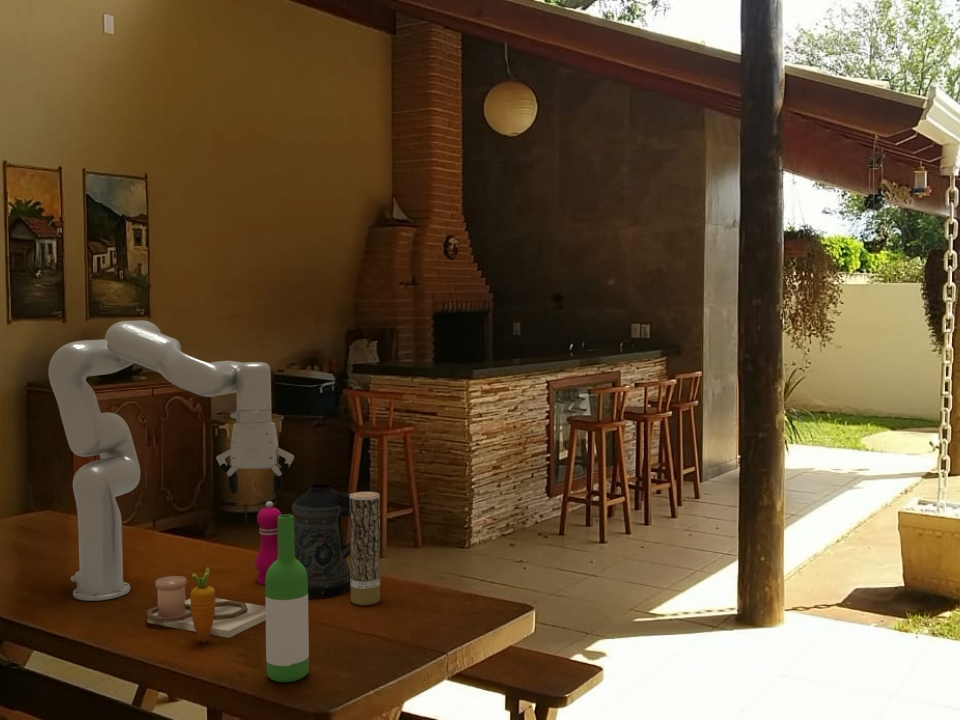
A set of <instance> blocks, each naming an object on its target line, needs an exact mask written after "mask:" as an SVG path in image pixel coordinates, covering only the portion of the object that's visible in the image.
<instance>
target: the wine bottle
mask: <svg viewBox="0 0 960 720" xmlns="http://www.w3.org/2000/svg"><path fill="white" fill-rule="evenodd" d="M294 519H295V516H294V514H291V513H287V514H286V513H285V514H281V515H279V516H278V558H277V560H276V561H275V562H274V563H273V564H272V565H271V566H270V567H269V569H268V571H267V574H266V579H265V585H264V586H265V606H266V620H265V651H266V652H265V653H266V654H265V657H266V658H265V660H266V666H265V667H266V675H267V677H268V678H269V679H270V680H272V681H274V682H277V683H291V682H296V681H299V680H301V679H303V678H304V677H306V676H307V674H308V673H309V668H310V663H309V661H310V651H309V650H310V644H309V642H310V641H309V637H310V636H309V630H310V629H309V598H308V577H307V572H306V569H305V567H304V566H303V565H302V563H301V562H299V561H298V560H297V559H296V558H295V551H294Z"/></svg>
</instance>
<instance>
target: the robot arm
mask: <svg viewBox="0 0 960 720" xmlns="http://www.w3.org/2000/svg"><path fill="white" fill-rule="evenodd" d="M134 364H136V365H139V366H142V367H143V368H147V369H149V370H151V371H154V372H156V373H159V374H161V376H162V377H164V379H165V380H167V381H168V382H169V383H171V384H172V385H174V386H176V387H178V388H180V389H183V390H186V391H188V392H190V393H193V394H196V395H197V396H201V397H209V398H212V397H218V396H223V395H227V394H228V395H229V394H233V393H236V411H231V412H230V418H231V419H235V420H236V423H233V425H232V426H233V427H232V431H231V441H230V449H228V450H226V451H224V452H222V453H221V454H218V455H217V456H216V461H217V463H218V465H219V467H220V469H222V471H223V472H224V473H225V474H226V475H227V477H228V489H229V490H231V491H230V493H231V495H234V494H236V493H237V492H238V491H239V479H238V473H237V471H238V470H239V469H240V470H244V469H245V470H246V469H248V470H249V469H250V470H251V469H252V470H253V469H254V470H255V469H261V470H262V469H271V470H272V472H273V473H274V475H273V494H275V495H276V494H279V493H281V490H283V474H284V473H285V472H286V471H287V470H288V469H289V468H290V467H291V464H292V462H293V461H294V459H295V455H294V454H292V453H290V452H288V451H286V450H285V449H282V448H280V447H279V442H278V435H277V434H278V433H277V428H276V425H275V424H276V423H275V422H272V378H271V376H272V373H271V366H270V365H269V364H268V363H267V362H262V361H251V362H250V361H249V362H242V361H235V360H221V361H214V362H213V361H212V362H207V361H203V360H201V359H198V358H195V357H194V356H190V355H189V354H186V353H185V352H183V351H182V346H181V343H180V342H179V340H177V339H176V338H173V337H170V336H168V335H166V334H163V333H162V332H161V329H159V327H158V326H157V325H156V324H155V323H153V322H151V321H148V320H143V319H141V320H121V321H119V322H116V323H114V324H112V325H111V326H109V328H108V329H107V330H106V332H105V336H104V339H85V340H76V341H71V342H69V343H66V344H64V345H62V346H60V347H59V348H58V349H56V351H55V352H54V354H53V355H52V356H51V359H50V361H49V365H48V379H49V383H50V386H51V389H52V392H53V394H54V397H55V399H56V403H57V406H58V411H59V413H60V414H59V415H60V418H61V421H62V425H63V429H64V432H65V433H64V434H65V435H66V439H67V442H68V446H69V448H70V451H71V452H72V453H73V454H74V455H76V456H78V457H84V458H85V457H86V458H88V457H91V456H92V457H93V456H97V455H99V458H100V459H97V460H93V461H91V462H88V463H86V464H84V465H82V466H81V467H80V468H79V469H78V470H77V471H76V472H75V474H74V475H73V480H72V490H73V491H72V492H73V496H74V499H75V504H76V510H77V525H78V526H77V529H78V554H79V555H78V559H79V570H78V571H75V573H74V575H71V577H70V581H71V582H72V583H73V582H74V583H76V587H75V589H73V591H72V596H73V598H75V599H76V600H79V601H89V602H95V601H107V600H111V599H117V598H120V597H123V596H125V595H127V594H128V593H129V592H130V591H131V585H130V583H128V582H126V581H124V570H123V568H124V567H123V560H124V559H123V531H122V530H123V527H122V526H123V525H122V523H123V522H122V513H121V510H120V508H119V505H118V502H117V500H116V497H119V496H123V495H125V494H127V493H130V492H132V491H133V490H135V488H137V486H138V485H139V483H140V480H141V466H140V462H139V459H138V454H137V451H136V447H135V445H134V440H133V437H132V433H131V431H130V428H129V426H128V423H127V422H126V421H125V419H123V417H122V416H120V415H119V414H117V413H113V412H109V411H108V412H106V411H105V412H101V410H100V405H99V403H98V398H97V396H96V393H95V391H94V390H93V388H92V387H91V385H90V384H89V383H88V382H87V381H86V380H87V378H88V377H93V376H95V377H96V376H103V375H110V374H113V373H117V372H119V371H121V370H124V369H126V368H128V367H130V366H132V365H134ZM228 457H230V465H231V466H230V465H229V464H228V462H226V458H228ZM280 457H282V458H284V459H285V461H284V463H283V465H282V466H281V465H280V464H279V460H280Z"/></svg>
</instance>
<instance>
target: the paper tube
mask: <svg viewBox="0 0 960 720" xmlns="http://www.w3.org/2000/svg"><path fill="white" fill-rule="evenodd" d="M349 495H350V516H349V542H350V555H349V562H350V563H349V569H350V602H351V603H352V604H353V605H355V606H361V607H362V606H363V607H365V606H366V607H367V606H372V605H373V606H374V605H376V604H378V603H379V602H380V600H381V528H380V527H381V525H380V524H381V522H380V521H381V520H380V517H381V515H380V514H381V511H380V510H381V508H380V507H381V506H380V499H381V498H380V493H379V492H374V491H359V492H358V491H357V492H353V493H350V494H349Z"/></svg>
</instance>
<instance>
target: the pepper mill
mask: <svg viewBox="0 0 960 720" xmlns="http://www.w3.org/2000/svg"><path fill="white" fill-rule="evenodd" d="M273 505H274V504H273V502H272V501H270V500H269V501H266V502H265V507H264V508H261V509H260V510H259V511H258V513H257V517H256V521H257V524H258V525H259V526H260V527H258V530H259V534H260V535H261V539H260V540H261V543H260V548H259V551H258V552H257V555H256V558H255V563H254V567H255V569H256V570H257V571H258V574H257V583H258V584H261V585H264V586H265V579H266V574H267V571H268V569H269V567H270V566H271V565H272V564H273V563H274V562H275V561H276V560H277V558H278V516H279V515H282V512H281V510H279V509H278V508H277V507H273Z"/></svg>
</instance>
